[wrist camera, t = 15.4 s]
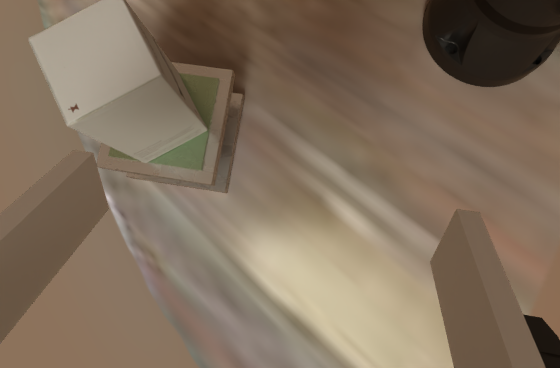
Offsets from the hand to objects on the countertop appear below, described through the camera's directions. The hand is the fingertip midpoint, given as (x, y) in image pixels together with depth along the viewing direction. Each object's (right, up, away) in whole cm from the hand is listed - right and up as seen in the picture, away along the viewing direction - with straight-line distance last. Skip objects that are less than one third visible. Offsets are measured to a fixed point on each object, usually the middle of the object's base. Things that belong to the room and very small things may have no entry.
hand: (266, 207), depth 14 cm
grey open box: (-11, +7, +31) cm, 34 cm away
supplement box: (-11, +8, +23) cm, 27 cm away
